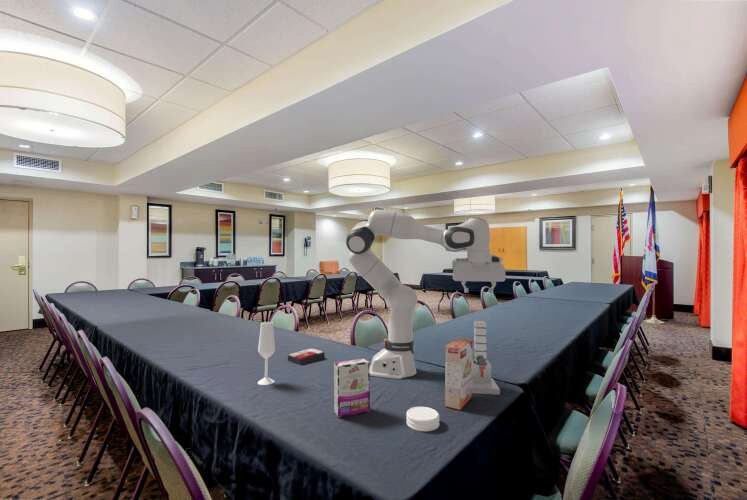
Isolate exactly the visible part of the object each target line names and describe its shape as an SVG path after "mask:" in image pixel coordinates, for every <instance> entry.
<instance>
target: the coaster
mask: <svg viewBox="0 0 747 500" xmlns="http://www.w3.org/2000/svg"><path fill="white" fill-rule="evenodd" d="M405 416H406V420H405V421H406V425H407V426H408V427H409V428H410V429H412V430H414V431H417V432H432V431H435V430H437V429H438V428H439V427H440V413H439V412H438V411H437V410H436V409H434V408H431V407H429V406H428V407H427V406H413V407H410V408H409V409H408V410H407V411H406V414H405Z"/></svg>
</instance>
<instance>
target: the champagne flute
mask: <svg viewBox="0 0 747 500" xmlns="http://www.w3.org/2000/svg"><path fill="white" fill-rule="evenodd" d="M274 333H275V331H274V322H271V321H263V322H261V323H260V329H259V339H258V345H257V346H258V348H257V352H258V354H259V355H260V356H261V357H262V358H263V359H264V377H263V378H262V379H260V380H258V381H257V384H258V385H260V386H264V385H265V386H266V385H267V386H268V385H271V384H274V383H275V380H274V379H272V378H270V377H269V375H268V374H269V373H268V372H269V358H270V357H272V355H273V354H274V352H275V351H276V346H275V345H276V343H275V334H274Z"/></svg>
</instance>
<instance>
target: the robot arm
mask: <svg viewBox="0 0 747 500" xmlns="http://www.w3.org/2000/svg"><path fill="white" fill-rule="evenodd" d="M490 229H491V228H490V225H489V222H488V221H487V220H486V219H483V218H479V217H471V218H469V219H467V220H466V221H464V222H461V223H460V224H458V225H455V226H451V227H449V229H439V228H436V227H432V226H427V225H424V224H422V223H421V222H419V221H418V220H417V219H415V218H414V217H413V216H411V215H410V214H406V213H403V212H400V211H395V210H391V209H373V211H371V212H370V214H369V215H368V219H363V220H359V222H357V223H356V224H355V225H354V226H353V227H352V228H351V230H350V231H349V233H348V234H347V236H346V240H345V245H346V247H347V249H348V250H349V255H348V262H349V263H350V264H351V266H352V267H353V268H354V270H355V271H356V273H358V275H359V276H361V277H362V279H364V280H365V281H366V282H367V283H368V284H369V285H370V286H371V287H372V289H374V290H375V291H376V292H377V293H378V295H379V296H380V297H381V298H382V299H384V300H385V302H386V303H387V304H388V305H390V314H389V319H388V328H387V329H388V330H387V331H388V334H387V336H388V337H387V338H385V339H384V340H383V348H382V349H381V350H379V351H378V352H377V353H376V354H374V355H373V357H372V359H371V362H370V376H371V377H378V378H387V379H396V380H402V379H405V378H408V377H413V376H415V375H416V374H417V373H418V371H417V369H416V365H415V357H414V352H415V341H414V319H415V312H416V306H417V305H418V295H417V293H416V292H415V290H414V289H413V288H412V287H410V286H407V285H404V283H402V282H401V281H400V280H399V279H398V278H397V277H396V275H395V274H394V273H393V271H392V270H391V269H390V268H389V267H388V266H387V265H386V264H385V263H384V262H383V261H382V260H381V259H380V258H379V257H377V255H376V254H375V253H374V252H373V251H372V246H373V244H374V243H375V241H376V239H377V237H379V236H381V237H382V236H384V237H389V238H392V239H398V240H421V241H425V242H430V243H435V244H437V245H441V246H442V247H443V248H445V249H446V251H447V250H448V251H450V252H459V251H461V250H463V249H466V255H467V256H466V257H464V258H459V257H456V258H455V259H453V260H452V262H451V267H452V269H453V271H452V280H454V281H455V282H461V286H462V287H463V288H464V291H463V292H464V293H465V294H466V293H470V292H469V289H470V288H469V287H467V286H466V284H467V282H490V283H491V287H490V288H488V293H489V294H494V289H495V287H496V285H497V282H505V281H506V269H505V265H504V264H503V257H501V256H498V255H494V254H491V249H490V248H491V247H490V241H491V231H490Z"/></svg>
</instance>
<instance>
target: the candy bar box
mask: <svg viewBox="0 0 747 500" xmlns="http://www.w3.org/2000/svg"><path fill="white" fill-rule="evenodd" d="M370 365H371V362H370V361H369V360H367V359H366V358H359V359H349V360H343V361H335V362H333V396H334V397H333V400H334V401H333V402H334V403H333V405H334V406H333V411H334V412H333V413H334V414H335V415H336V417H337V418H346V417H350V416H351V417H352V416H355V415H360V414H365V413H369V412H371V399H370V398H371V396H370V395H371V389H370V387H371V386H370V383H371V382H370V381H371V378H370Z"/></svg>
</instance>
